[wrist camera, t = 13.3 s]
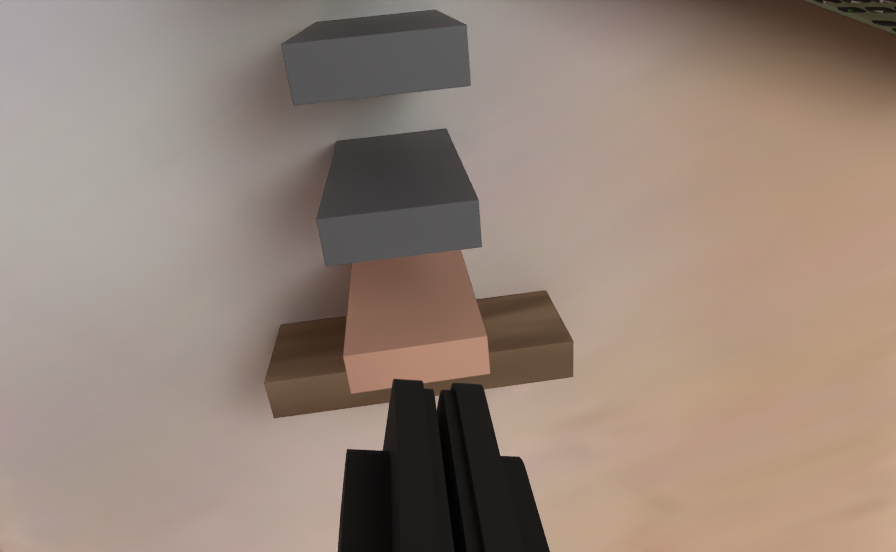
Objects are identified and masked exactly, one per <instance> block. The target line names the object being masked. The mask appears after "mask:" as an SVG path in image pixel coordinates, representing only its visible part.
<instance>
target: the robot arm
mask: <svg viewBox="0 0 896 552" xmlns="http://www.w3.org/2000/svg"><path fill="white" fill-rule="evenodd" d="M338 552H550V551H549V547H548V544H547V541H546V537H545V534H544V530H543V527H542V523H541V520H540V517H539V513H538V510H537V506H536V503H535V499H534V496H533V493H532V489H531V486H530V482H529V479H528V475H527V472H526V469H525V466H524V463H523V461H522V459H521V458H520V457H510V456H500V453H499V449H498V445H497V440H496V436H495V432H494V428H493V424H492V420H491V416H490V412H489V408H488V404H487V400H486V396H485V392H484V388H483V386H482V385H481V384H468V383H452V385H451V388H450V390H441V392H440V396H439V401H438V407H437V411H436V403H435V396H434V390H433V389H424V385H423V381H421V380H405V379H393V383H392V389H391V396H390V403H389V410H388V418H387V425H386V432H385V439H384V446H383V451H375V450H353V449H347V453H346V462H345V472H344V481H343V492H342V503H341V515H340V528H339V541H338Z"/></svg>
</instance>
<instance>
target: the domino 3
mask: <svg viewBox="0 0 896 552" xmlns="http://www.w3.org/2000/svg"><path fill="white" fill-rule="evenodd" d="M343 358H344V363H345V367H346V372H347V377H348V381H349V386H350V391H351V394H353V393H360V392H367V391H374V390H381V389H388V388H392V383H393V379H405V380H421V381H423V383H429V382H436V381H443V380H450V379H457V378H464V377H471V376H478V375H485V374H490V364H489V352H488V340H487V334H486V331H485V327H484V324H483V321H482V318H481V314H480V311H479V308H478V304H477V301H476V298H475V295H474V291H473V288H472V285H471V282H470V278H469V275H468V272H467V269H466V265H465V262H464V259H463V256H462V252H461V250H454V251H446V252H438V253H430V254H422V255H414V256H406V257H398V258H390V259H383V260H375V261H367V262H359V263H352V268H351V279H350V289H349V300H348V310H347V321H346V332H345V342H344V353H343Z"/></svg>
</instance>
